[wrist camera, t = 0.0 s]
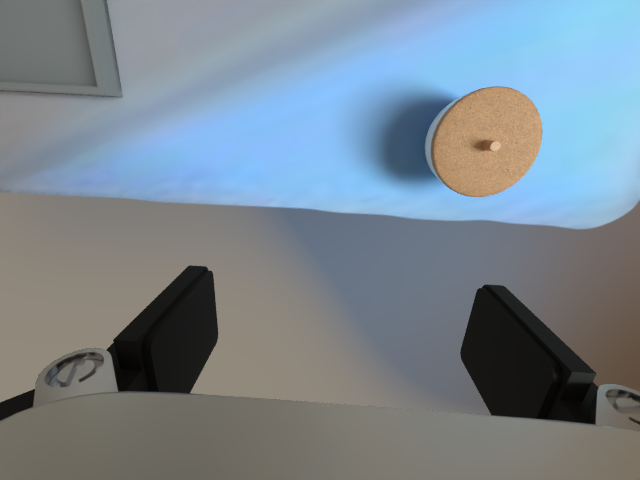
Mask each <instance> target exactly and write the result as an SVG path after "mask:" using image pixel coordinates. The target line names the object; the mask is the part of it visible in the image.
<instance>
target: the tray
mask: <svg viewBox="0 0 640 480" xmlns="http://www.w3.org/2000/svg"><path fill="white" fill-rule="evenodd" d="M0 91H16V92H35V93H54V94H72V95H91V96H110V97H123V96H122V90H121V84H120V78H119V72H118V66H117V60H116V54H115V48H114V42H113V36H112V30H111V24H110V18H109V12H108V6H107V0H0Z"/></svg>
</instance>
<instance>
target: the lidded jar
mask: <svg viewBox="0 0 640 480" xmlns="http://www.w3.org/2000/svg"><path fill="white" fill-rule="evenodd" d="M541 140H542V123H541V119H540V115H539V113H538V111H537V108H536V107H535V105H534V104H533V102H532V101H531V100H530V99H529V98H528V97H527V96H526V95H524V94H522V93H521V92H519V91H517V90H514V89H512V88H507V87H488V88H483V89H479V90H476V91H473V92H471V93H469V94H467V95H464V96H462V97H460V98H458V99H456V100H454V101H453V102H451V103H450V104H448V105H447V106H446V107H445V108H444V109H443V110H442V111H441V112H440V113H439V114H438V115H437V116H436V118H435V119H434V120H433V122H432V124H431V125H430V128H429V130H428V133H427V136H426V141H425V154H426V159H427V162H428V165H429V167H430V169H431V171H432V172H433V174H434V175H435V176H436V177H437V178H438V179H439V180H440V181H441V182H442V183H444V184H445V185H446V186H447V187H448V188H450V189H451V190H453V191H455V192H457V193H459V194H462V195H465V196H471V197H483V196H490V195H493V194H497V193H499V192H501V191H503V190H506V189H507V188H509V187H510V186H512V185H513V184H515V183H516V182H517V181H518V180H520V179H521V178H522V177H523V176H524V175H525V174H526V172H527V171H528V170H529V168H530V167H531V166H532V164H533V162H534V160H535V159H536V156H537V154H538V152H539V149H540V145H541Z"/></svg>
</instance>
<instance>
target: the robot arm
mask: <svg viewBox="0 0 640 480" xmlns="http://www.w3.org/2000/svg"><path fill="white" fill-rule="evenodd" d="M216 315H217V314H216V303H215V291H214V279H213V273H212V271H208V268H207V267H204V266H203V267H202V266H188V267H187V268H186V269H185V270H184V271H183V272H182V273H181V274H180V275H179V276H178V277H177V278H176V279H175V280H174V281H173V282H172V283H171V284H170V285H169V286H168V287H167V288H166V289H165V290H164V291H163V292H162V293H161V294H160V295H158V297H156V298H155V300H154V301H152V302H151V303H150V304H149V305H148V306H147V307H146V308H145V309H144V310H143V311H142V312H141V313H140V314H139V315H138V316H137V317H136V318H135V319H134V320H133V321H132V322H131V323H130V324H129V325H128V326H127V327H126V328H125V329H124V330H123V331H122V332H121V333H120V334H119V335H118V336H117V337H116V338H115V339H114V340H113V341H114V343H113V344H112V345H111V346H110V347H109V348H108V349H107V350H105V349H101V348H87V349H82V350H78V351H74V352H72V353H69V354H66V355H64V356H62V357H60V358H58V359H57V360H55V361H53V362H52V363H51V364H49V365H48V366H47V367H45V368H44V369H43V371H42V372H41V373H40V374H39V375H38V378H37V381H36V385H35V389H34V390H31V391H28V392H26V393H23V394H21V395H18V396H16V397H13V398H11V399H8V400H6V401H3V402H1V403H0V480H640V392H637V391H635V390H632V389H630V388H626V387H624V386H620V385H615V384H604V385H602V386H600V387H599V388H598V387H597V386H596V385H595V384H594V383H593V380H594V377H595V376H596V373H595V372H594V371H593V370H592V369H591V368H590V367H589V366H588V365H587V364H586V363H585V362H584V361H582V359H581V358H579V356H577V355H576V354H575V353H574V352H573V351H572V350H571V349H570V348H569V347H568V346H567V345H566V344H565V343H564V342H563V341H561V340H560V338H558V337H557V336H556V335H555V334H554V333H553V332H552V331H551V330H550V329H549V328H548V327H547V326H546V325H545V324H544V323H543V322H542V321H540V320H539V319H538V318H537V317H536V316H535V315H534V314H533V313H532V312H531V311H530V310H529V309H528V308H527V307H525V305H524V304H523V303H521V302H520V301H519V300H518V299H517V298H516V297H515V296H514V295H513V294H512V293H511V292H510V291H509V290H508V289H507V288H506V287H504V286H500V285H484V286H483V287H482V288H479V289H478V290H477V293H476V296H475V300H474V303H473V307H472V311H471V315H470V318H469V322H468V325H467V329H466V333H465V336H464V340H463V344H462V347H461V359H462V361H463V363H464V365H465V367H466V369H467V371H468V373H469V374H470V376H471V378H472V380H473V382H474V383H475V385H476V387H477V389H478V391H479V393H480V395H481V397H482V398H483V400H484V402H485V404H486V406H487V407H488V409H489V411H490V413H491V415H481V414H469V413H456V412H441V411H429V410H414V409H401V408H386V407H374V406H360V405H346V404H333V403H319V402H318V403H317V402H305V401H291V400H277V399H263V398H249V397H233V396H219V395H204V394H190V392H191V390H192V388H193V386H194V384H195V382H196V380H197V379H198V377H199V375H200V373H201V371H202V369H203V367H204V365H205V363H206V362H207V360H208V358H209V356H210V354H211V352H212V350H213V348H214V347H215V345H216V343H217V339H218V326H217V316H216Z"/></svg>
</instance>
